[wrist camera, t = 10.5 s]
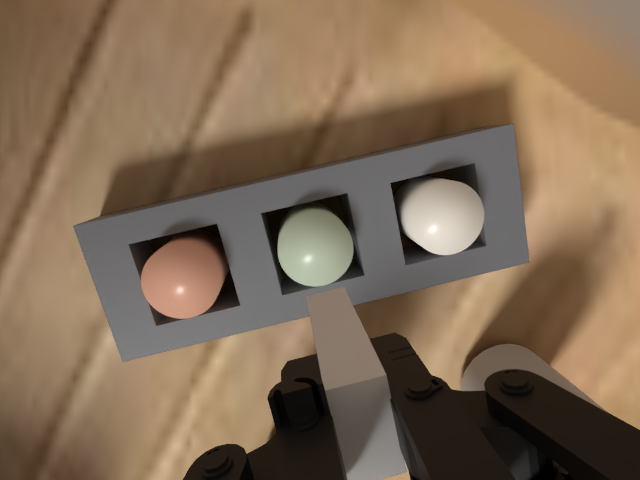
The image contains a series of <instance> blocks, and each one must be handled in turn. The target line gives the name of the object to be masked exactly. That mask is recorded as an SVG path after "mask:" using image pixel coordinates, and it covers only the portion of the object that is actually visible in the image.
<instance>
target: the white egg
mask: <svg viewBox="0 0 640 480" xmlns="http://www.w3.org/2000/svg"><path fill="white" fill-rule="evenodd" d="M393 200H394V205H395V211H396V216H397V221H398V227H399V230H400V231H401V232H402V233H403V234H404V235H406V236H407V237H409V238H410V239H411V240H413V241H414V242H416V243H417V244H419V245H420V246H421V247H423V248H424V249H426V250H427V251H429V252H431V253H434V254H438V255H452V254H456V253H459V252H461V251H463V250H464V249H466V248H467V247H469V246H470V245H471V244H472V243H473V242H474V241H475V240H476V238H477V237H478V235H479V234H480V232H481V229H482V226H483V222H484V208H483V204H482V201H481V199H480V197H479V196H478V194H477V193H476V192H475V191H474V190H473V189H472V188H471V187H470V186H468V185H466V184H464V183H462V182H458V181H453V180H447V179H442V178H436V177H431V176H418V177H414V178H412V179H410V180H408V181H406V182H405V183H404V184H402V185H401V186H400V187H399V189H398V190H397V192H396V193H395V195H394V198H393Z"/></svg>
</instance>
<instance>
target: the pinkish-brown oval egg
mask: <svg viewBox="0 0 640 480" xmlns="http://www.w3.org/2000/svg"><path fill="white" fill-rule="evenodd" d="M228 271H229V264H228V260H227V257H226V253H225V250H224V246H223V243H222V241H221V240H220V239H219V238H218V237H216V236H215V235H213V234H211V233H209V232H206V231H202V230H188V231H185V232H182V233H180V234H178V235H177V236H175V237H174V238H173V239H171V240H170V241H169V242H168V243H166V244H165V245H164V246H163V247H161V248H160V249H159V250H158V251H156V252H155V253H154V254H153V255H152V256H151V257H150V258H149V259H148V260H147V262H146V263H145V265H144V267H143V270H142V275H141V286H142V290H143V293H144V296H145V298H146V299H147V301H148V302H149V303H150V305H151V306H152V307H153V308H154V309H156V310H157V311H158V312H160V313H162V314H164V315H166V316H169V317H172V318H179V319H186V318H192V317H195V316H198V315H200V314H202V313H204V312H205V311H207V310H208V309H209V308H210V307H211V306H212V305H213V303H214V302H215V300H216V298H217V296H218V294H219V292H220V290H221V287H222V285H223V283H224V281H225V279H226V276H227V274H228Z"/></svg>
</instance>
